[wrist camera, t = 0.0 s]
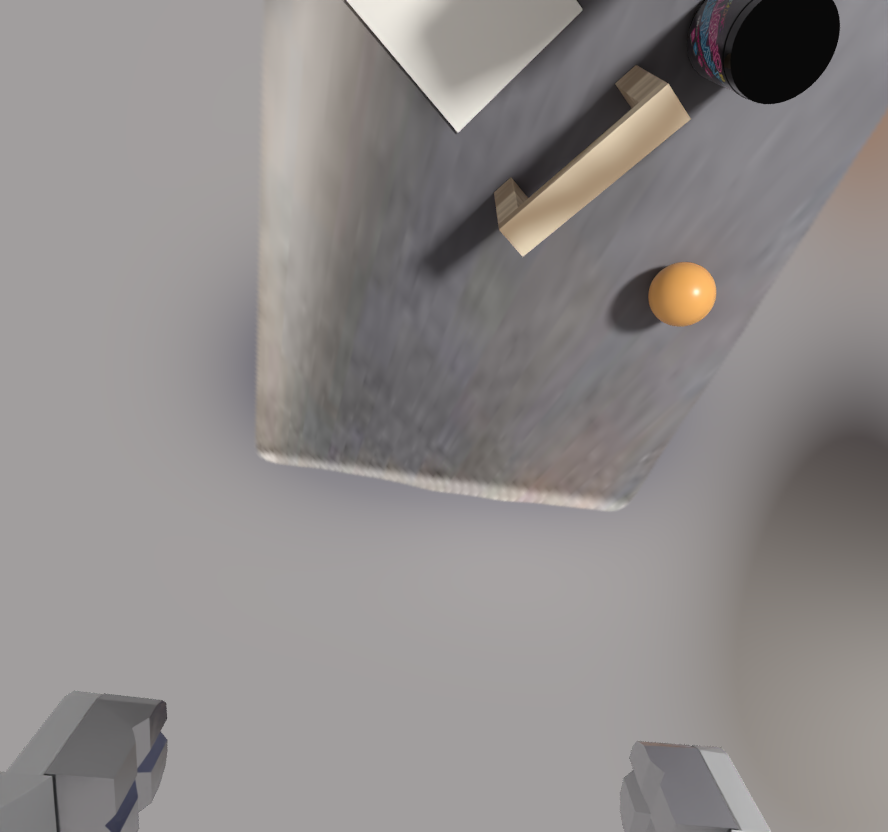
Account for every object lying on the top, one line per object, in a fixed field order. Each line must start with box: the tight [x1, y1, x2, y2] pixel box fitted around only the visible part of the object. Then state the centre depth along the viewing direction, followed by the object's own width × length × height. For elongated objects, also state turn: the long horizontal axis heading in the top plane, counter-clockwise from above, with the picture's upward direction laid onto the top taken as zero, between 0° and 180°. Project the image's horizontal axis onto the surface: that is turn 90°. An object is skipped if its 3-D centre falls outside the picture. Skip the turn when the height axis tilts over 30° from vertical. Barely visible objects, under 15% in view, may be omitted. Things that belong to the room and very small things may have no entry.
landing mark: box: [347, 0, 583, 132], centre depth 47 cm, size 13×13×1 cm
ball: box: [648, 262, 716, 327], centre depth 58 cm, size 6×6×6 cm
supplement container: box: [687, 0, 840, 104], centre depth 44 cm, size 7×7×10 cm
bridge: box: [494, 65, 691, 256], centre depth 49 cm, size 3×15×10 cm, turn 133°
